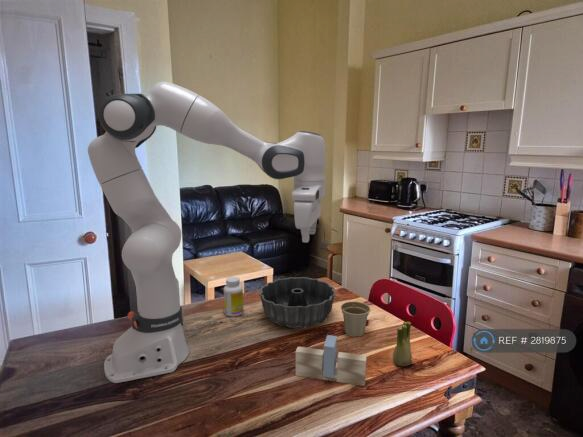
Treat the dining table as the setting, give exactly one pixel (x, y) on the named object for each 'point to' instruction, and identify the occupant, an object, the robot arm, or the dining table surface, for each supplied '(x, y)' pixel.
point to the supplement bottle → (233, 297)
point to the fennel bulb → (403, 346)
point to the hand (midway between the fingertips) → (309, 237)
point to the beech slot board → (347, 371)
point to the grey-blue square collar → (330, 356)
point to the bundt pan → (297, 301)
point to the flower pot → (355, 317)
